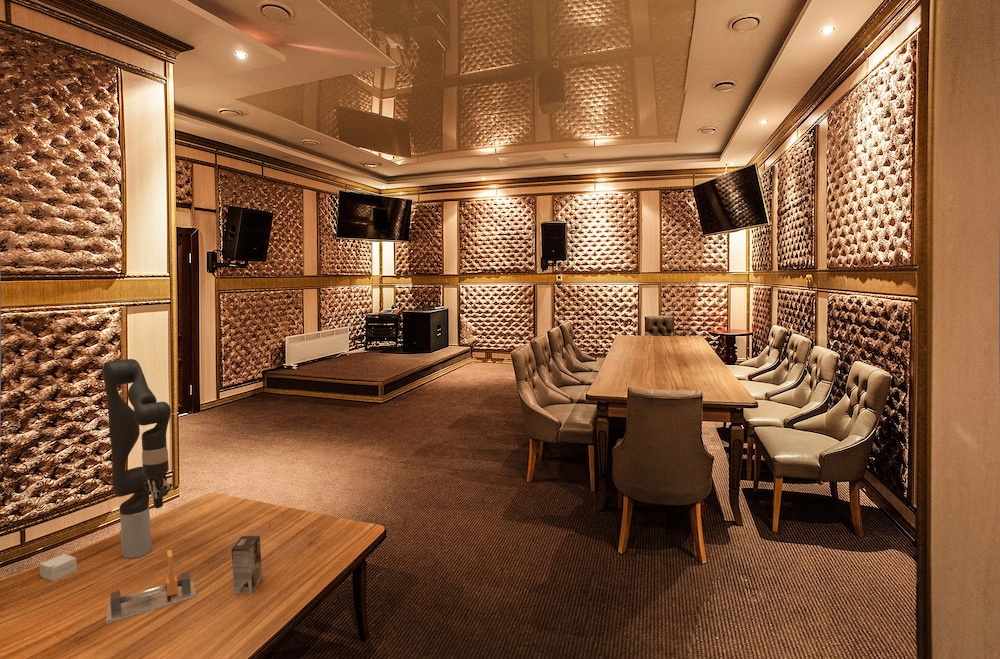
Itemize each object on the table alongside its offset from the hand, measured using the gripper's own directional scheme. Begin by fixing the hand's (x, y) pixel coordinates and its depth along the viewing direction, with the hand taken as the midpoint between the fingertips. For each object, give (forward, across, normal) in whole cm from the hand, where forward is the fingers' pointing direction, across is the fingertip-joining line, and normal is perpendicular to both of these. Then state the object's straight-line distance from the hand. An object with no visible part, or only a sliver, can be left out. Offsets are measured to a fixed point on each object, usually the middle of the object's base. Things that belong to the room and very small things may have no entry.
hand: (158, 507), depth 183 cm
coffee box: (+25, -33, -7) cm, 42 cm away
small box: (+28, +36, +13) cm, 47 cm away
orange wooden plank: (+23, -15, +7) cm, 28 cm away
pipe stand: (+25, -12, +12) cm, 30 cm away
